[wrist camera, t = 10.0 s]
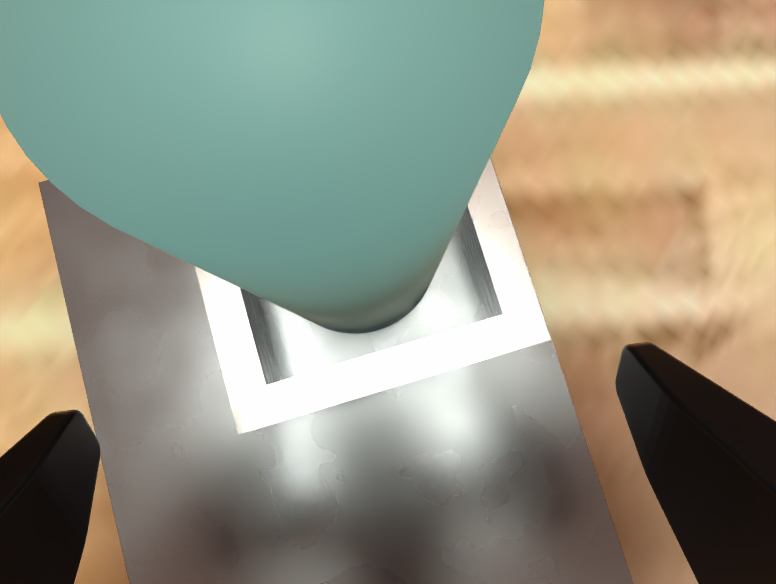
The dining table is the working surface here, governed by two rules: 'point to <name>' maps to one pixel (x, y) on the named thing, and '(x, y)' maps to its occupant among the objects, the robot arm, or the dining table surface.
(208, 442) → the socket board
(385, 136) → the teal tall cylinder
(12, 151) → the dining table surface
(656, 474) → the robot arm
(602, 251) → the dining table surface
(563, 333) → the dining table surface
